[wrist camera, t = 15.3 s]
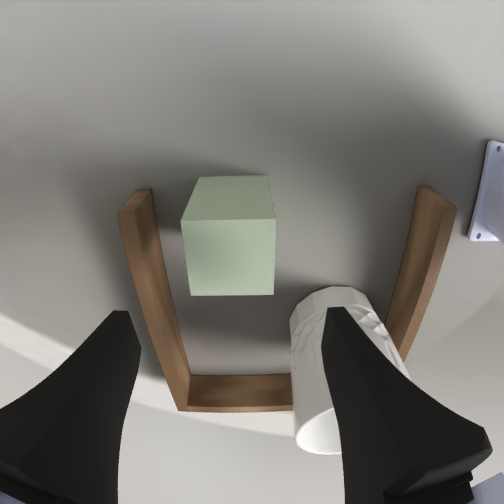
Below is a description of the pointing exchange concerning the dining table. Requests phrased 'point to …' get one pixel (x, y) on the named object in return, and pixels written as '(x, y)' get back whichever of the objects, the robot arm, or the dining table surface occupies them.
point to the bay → (277, 386)
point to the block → (230, 236)
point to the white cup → (311, 364)
